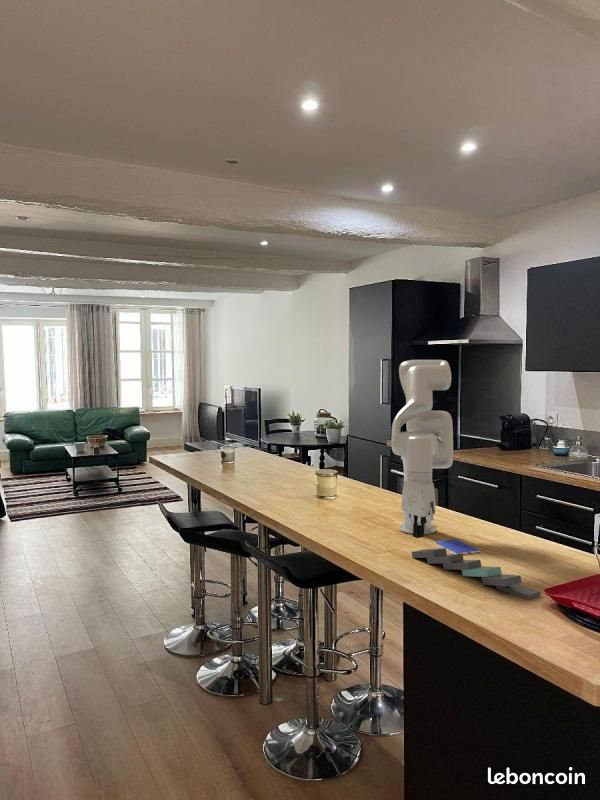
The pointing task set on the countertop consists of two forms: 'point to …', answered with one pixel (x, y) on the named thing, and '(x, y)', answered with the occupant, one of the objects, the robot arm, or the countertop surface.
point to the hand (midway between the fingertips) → (418, 536)
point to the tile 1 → (429, 553)
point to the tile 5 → (502, 580)
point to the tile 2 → (445, 558)
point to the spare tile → (482, 571)
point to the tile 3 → (462, 565)
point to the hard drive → (457, 546)
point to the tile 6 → (520, 591)
